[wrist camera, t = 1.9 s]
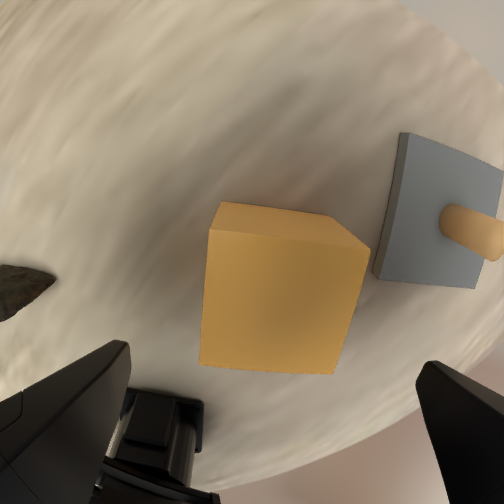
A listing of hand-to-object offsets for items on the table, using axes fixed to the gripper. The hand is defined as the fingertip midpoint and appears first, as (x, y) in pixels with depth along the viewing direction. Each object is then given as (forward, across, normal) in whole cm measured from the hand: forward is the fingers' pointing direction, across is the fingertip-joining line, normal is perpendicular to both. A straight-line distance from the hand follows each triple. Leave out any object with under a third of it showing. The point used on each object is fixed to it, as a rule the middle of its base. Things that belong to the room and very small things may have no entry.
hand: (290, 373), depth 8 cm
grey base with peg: (+9, -10, -4) cm, 14 cm away
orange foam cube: (+9, 0, 0) cm, 9 cm away
